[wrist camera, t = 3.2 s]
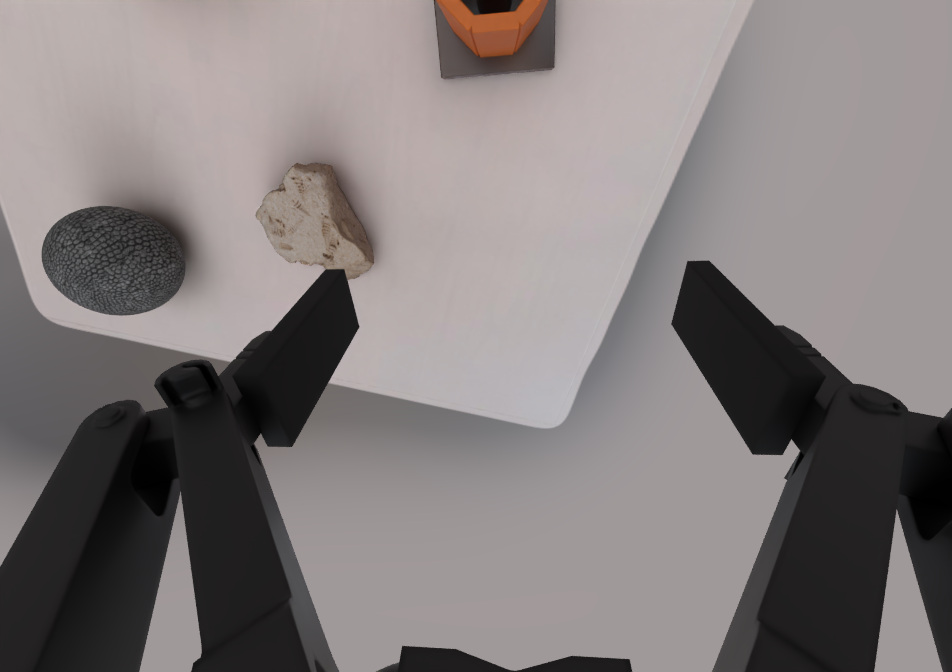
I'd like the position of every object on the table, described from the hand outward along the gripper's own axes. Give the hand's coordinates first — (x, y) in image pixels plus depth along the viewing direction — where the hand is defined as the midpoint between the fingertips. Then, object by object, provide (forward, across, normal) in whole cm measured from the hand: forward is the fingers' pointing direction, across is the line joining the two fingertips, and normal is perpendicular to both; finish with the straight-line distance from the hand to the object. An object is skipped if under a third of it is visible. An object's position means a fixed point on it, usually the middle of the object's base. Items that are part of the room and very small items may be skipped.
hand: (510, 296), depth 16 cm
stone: (+25, -18, -4) cm, 31 cm away
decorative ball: (+24, -37, -6) cm, 44 cm away
